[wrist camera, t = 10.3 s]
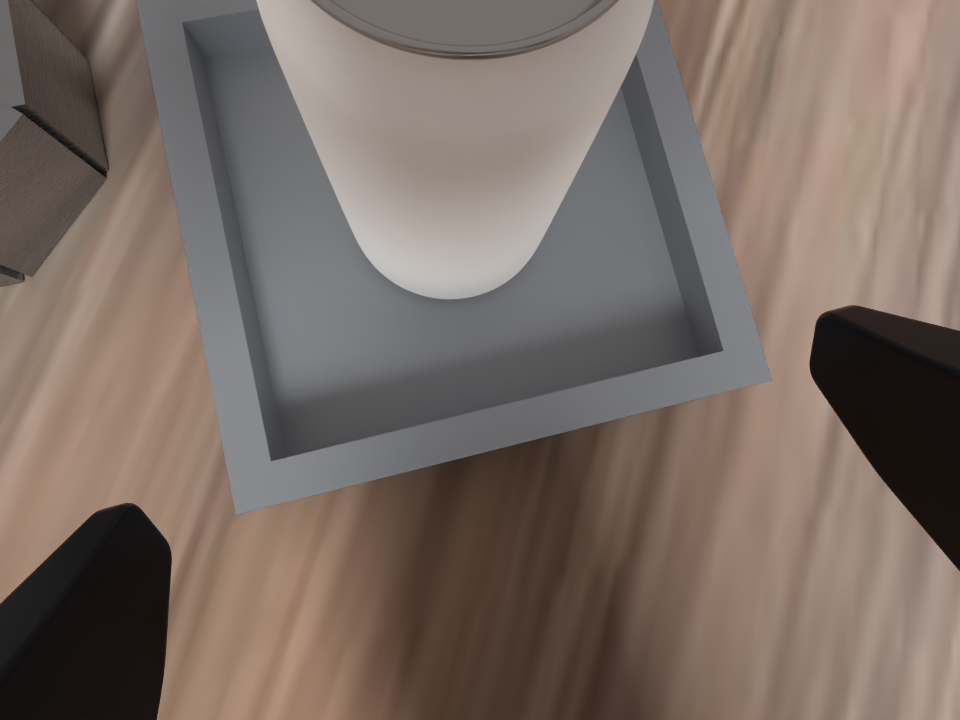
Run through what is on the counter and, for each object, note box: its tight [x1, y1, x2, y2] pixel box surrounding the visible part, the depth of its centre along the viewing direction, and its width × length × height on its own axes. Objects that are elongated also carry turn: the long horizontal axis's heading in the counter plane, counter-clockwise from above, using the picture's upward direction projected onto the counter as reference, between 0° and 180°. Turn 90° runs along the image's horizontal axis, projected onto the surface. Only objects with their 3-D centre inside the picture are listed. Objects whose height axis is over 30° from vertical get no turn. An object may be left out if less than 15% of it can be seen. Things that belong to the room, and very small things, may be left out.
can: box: [256, 0, 654, 299], centre depth 14 cm, size 6×6×12 cm
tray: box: [136, 0, 772, 515], centre depth 19 cm, size 16×16×2 cm
